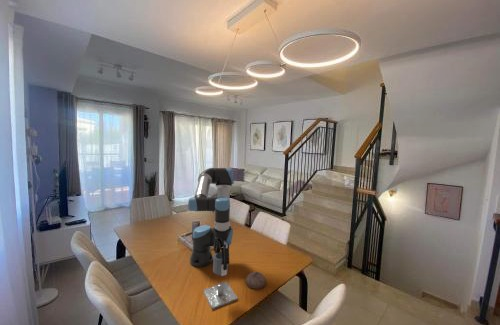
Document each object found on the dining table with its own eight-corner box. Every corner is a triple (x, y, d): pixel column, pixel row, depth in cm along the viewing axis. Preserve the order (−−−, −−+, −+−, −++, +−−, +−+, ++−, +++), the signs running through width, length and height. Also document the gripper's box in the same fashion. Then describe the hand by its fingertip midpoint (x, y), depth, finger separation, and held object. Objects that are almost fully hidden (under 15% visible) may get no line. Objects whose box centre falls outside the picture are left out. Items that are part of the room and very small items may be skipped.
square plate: (203, 291, 112) (203, 281, 111) (226, 283, 119) (227, 273, 118) (212, 309, 100) (212, 298, 99) (237, 299, 107) (238, 288, 106)
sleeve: (211, 268, 109) (211, 254, 109) (224, 264, 113) (224, 250, 112) (216, 277, 102) (217, 261, 102) (230, 272, 106) (230, 258, 106)
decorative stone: (242, 287, 117) (243, 278, 116) (249, 274, 128) (249, 266, 128) (262, 292, 113) (263, 282, 113) (267, 278, 125) (268, 270, 124)
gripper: (208, 222, 113) (207, 261, 115) (223, 238, 95) (221, 284, 97) (220, 220, 117) (219, 258, 119) (237, 235, 99) (236, 279, 101)
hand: (220, 270), depth 108 cm, fingers closed on sleeve, 8 cm apart
